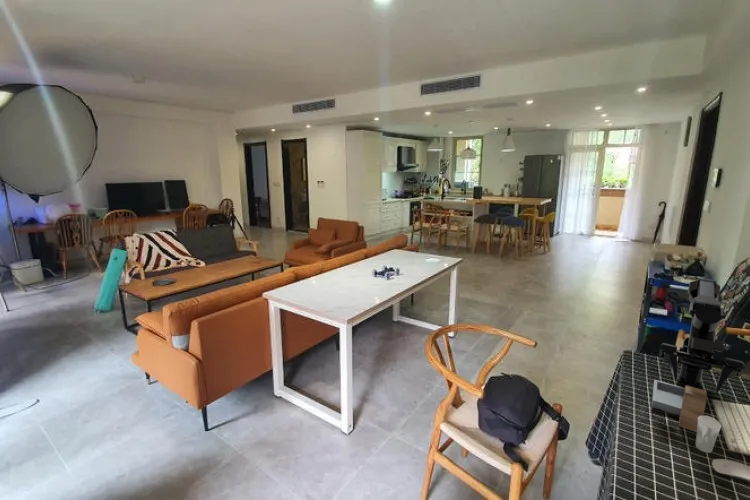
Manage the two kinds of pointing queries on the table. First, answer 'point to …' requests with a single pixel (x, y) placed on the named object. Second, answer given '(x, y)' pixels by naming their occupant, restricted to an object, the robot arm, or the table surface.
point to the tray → (667, 397)
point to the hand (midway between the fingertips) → (695, 386)
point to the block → (692, 407)
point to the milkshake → (707, 433)
